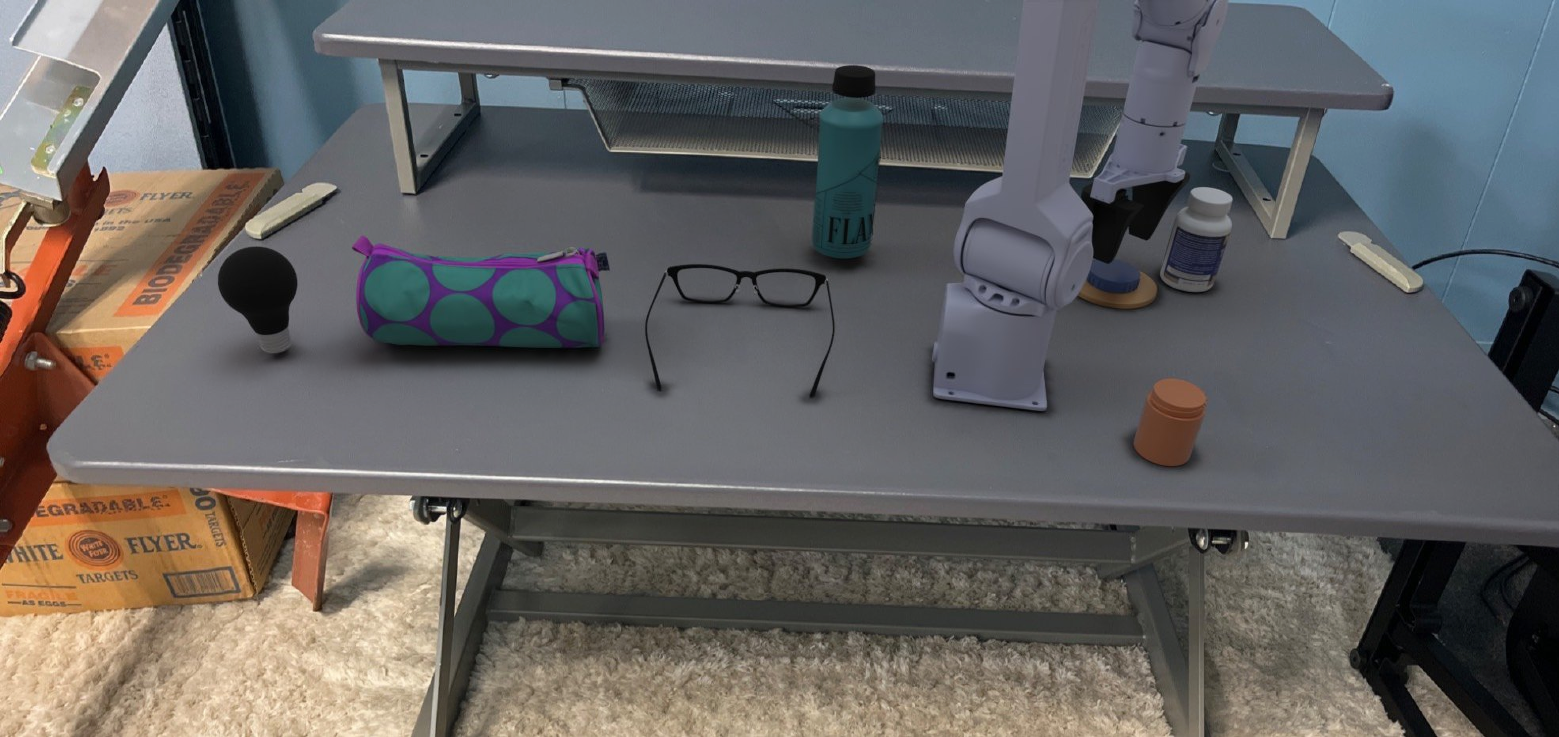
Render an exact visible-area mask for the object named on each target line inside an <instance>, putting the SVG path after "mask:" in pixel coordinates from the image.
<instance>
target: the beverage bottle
mask: <svg viewBox="0 0 1559 737" xmlns="http://www.w3.org/2000/svg"><path fill="white" fill-rule="evenodd" d="M833 75H834V76H833V82H832V87H831V91H832V92H833V93H834V94H836V95H838V96H841V97H842V98H837V99H834V100H832V101H831V102H830V103H828V104H827V105H826V106H825V107H823V109H821V111H820V113H819V133H818V134H819V135H818V136H819V137H818V149H817V150H818V151H817V167H816V185H815V189H814V190H815V191H814V200H813V201H814V203H813V218H812V232H811V241H812V246H813V248H814V249H815V250H816V251H817V252H819V253H820V254H822V255H825V256H827V257H829V258H836V259H853V258H858V257H860V256H863V255H865V254H866V253H867V252H868V251H869V249H870V247H871V245H872V244H873V236H874V228H873V227H874V221H875V218H876V217H875V214H876V210H875V208H876V205H877V204H876V203H877V195H878V189H877V185H879V183H878V177H879V174H880V172H879V170H880V169H881V168H880V164H881V159H882V151H881V145H882V142H883V140H882V128H883V123H884V115H883V113H882V112H881V111H880V110H879V108H878V107H877V106H876V105H875V104H874V103H873V102H871V101H869V100H867V99H864V98H869V97H871V96H873V95H875V94H876V71H875V70H874V69H873V68H871V67H868V66H864V65H856V64H849V65H848V64H847V65H841V66H838V67H836V68H835V70H834V74H833Z"/></svg>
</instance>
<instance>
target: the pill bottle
mask: <svg viewBox="0 0 1559 737" xmlns="http://www.w3.org/2000/svg"><path fill="white" fill-rule="evenodd" d="M1186 200H1187V201H1186V205H1187V206H1185V207H1182V208H1181V209H1179V211H1178V212H1177V213H1176V215H1175V217H1174V221H1173V225H1172V229H1171V231H1170V236H1169V239H1168V243H1167V245H1166V250H1165V253H1164V257H1163V260H1162V263H1161V267H1160V272H1159V276H1160V278H1161V280H1162V281H1163V282H1164V283H1165V285H1168V286H1169V287H1171V288H1173V289H1175V290H1179V291H1183V292H1189V293H1201V292H1207V291H1208V290H1210V289H1211V288H1213V286H1214V283H1215V281H1216V278H1217V275H1218V273H1219V269H1220V266H1221V262H1222V259H1223V257H1224V254H1225V250H1226V248H1227V244H1228V241H1229V238H1230V235H1231V232H1232V227H1233V223H1232V219H1231V218H1230V217H1229V216H1228V214H1229V213H1230V211H1231V208H1232V204H1233V196H1232V195H1231V194H1230V193H1228V192H1226V191H1224V190H1221V189H1218V188H1214V187H1208V186H1207V187H1206V186H1200V187H1198V186H1197V187H1193V189H1191V190H1190V192H1189V195H1188V197H1187V199H1186Z"/></svg>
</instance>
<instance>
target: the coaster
mask: <svg viewBox="0 0 1559 737" xmlns="http://www.w3.org/2000/svg"><path fill="white" fill-rule="evenodd" d="M1139 271H1140V278H1139V279H1140V282H1139V285H1138V288H1136V289H1135V291H1132V292H1129V293H1110V292H1106V291H1103V290H1100V289H1097V288H1095V287H1094V286H1092V285H1091V284H1090V283H1089V282H1088V281H1087V279H1086V281H1085V283H1084V285H1083V287H1082V289H1081V291H1080V292H1079V294H1078V295H1077V297H1079V298H1081V299H1084V300H1085V301H1088V302H1089V303H1092V304H1095V305H1098V306H1101V307H1102V306H1103V307H1107V308H1111V309H1121V310H1131V309H1138V308H1143V307H1147V306H1148V305H1150V304H1151V303H1153V302H1154V301H1155V299H1156V298H1157V294H1158V285H1157V283H1156V282H1155V281H1154V280H1153V279H1152V277H1150V276H1149V275H1147V273H1144V272H1143V271H1141V270H1139Z"/></svg>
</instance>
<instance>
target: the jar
mask: <svg viewBox="0 0 1559 737" xmlns="http://www.w3.org/2000/svg"><path fill="white" fill-rule="evenodd" d="M1207 403H1208V398H1207V394H1206V393H1205V392H1204V389H1203V390H1202V388H1200V387H1199V386H1197V385H1196V384H1194V383H1192V382H1190V381H1187V380H1184V379H1179V378H1171V377H1170V378H1163V379H1160V380H1158V381H1156V382H1155V383H1154V385H1153V387H1152V390H1150V391H1149V392H1148V394H1146V398H1145V402H1144V404H1143V408H1142V412H1141V415H1140V417H1139V421H1138V425H1137V428H1136V432H1135V435H1134V438H1133V442H1132V443H1133V447H1134V449H1135V451H1136V453H1138V454H1139V455H1140V456H1141V457H1142V458H1143V459H1145V460H1146V461H1149V462H1151V463H1154V464H1156V465H1160V466H1164V467H1178V466H1179V467H1180V466H1181V465H1185V464H1186V463H1187V462H1188V461H1190V459H1191V455H1192V453H1193V450H1194V447H1195V445H1196V441H1197V439H1198V436H1199V432H1200V429H1201V427H1202V424H1203V422H1204V418H1205V415H1206V412H1207V408H1206V407H1207Z"/></svg>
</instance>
